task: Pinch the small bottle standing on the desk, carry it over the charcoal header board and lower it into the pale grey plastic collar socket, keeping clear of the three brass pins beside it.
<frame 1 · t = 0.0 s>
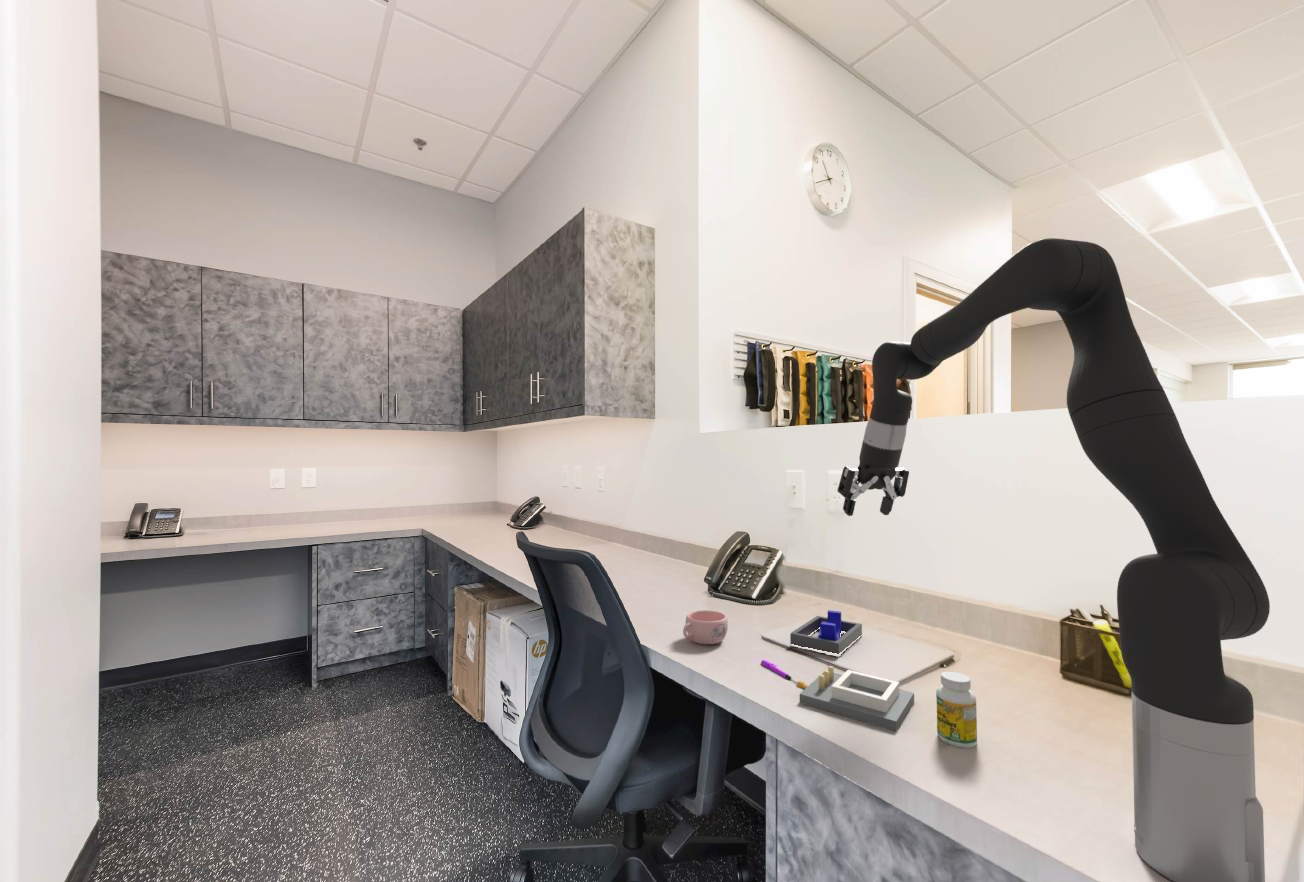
hand: (866, 513, 113), 31 cm above the countertop, tool tilted 20°, fingers open, 8 cm apart
purple handled brush: (789, 680, 106), on the countertop
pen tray: (827, 641, 126), on the countertop
supplement bottle: (956, 740, 83), on the countertop
mug: (703, 642, 126), on the countertop
header board: (857, 701, 95), on the countertop
cable clip: (828, 643, 126), resting in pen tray
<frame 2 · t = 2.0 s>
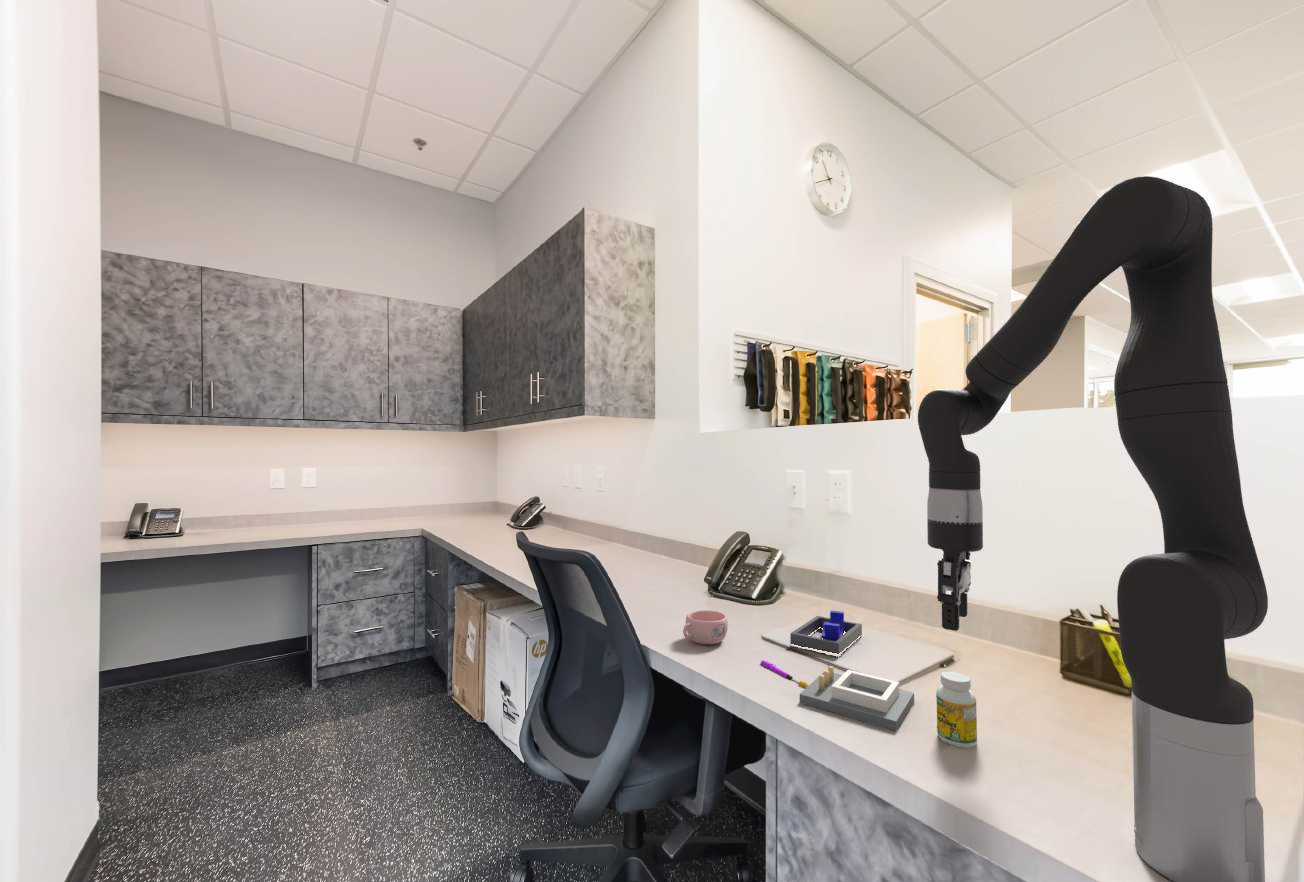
hand: (955, 622, 83), 18 cm above the countertop, tool pointing down, fingers open, 8 cm apart
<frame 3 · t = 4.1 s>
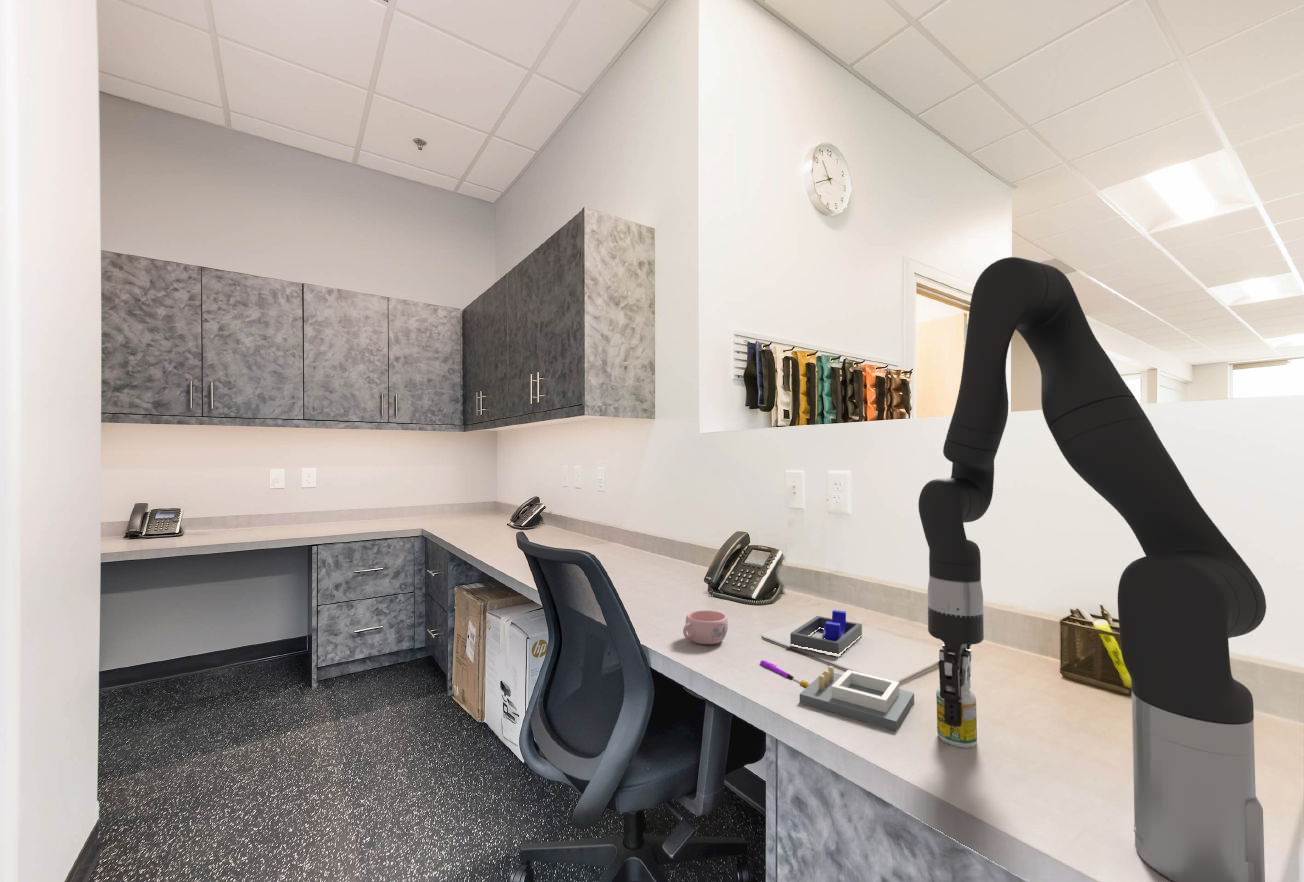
hand: (956, 716, 83), 3 cm above the countertop, tool pointing down, fingers closed on supplement bottle, 5 cm apart
supplement bottle: (956, 740, 83), on the countertop, touching gripper
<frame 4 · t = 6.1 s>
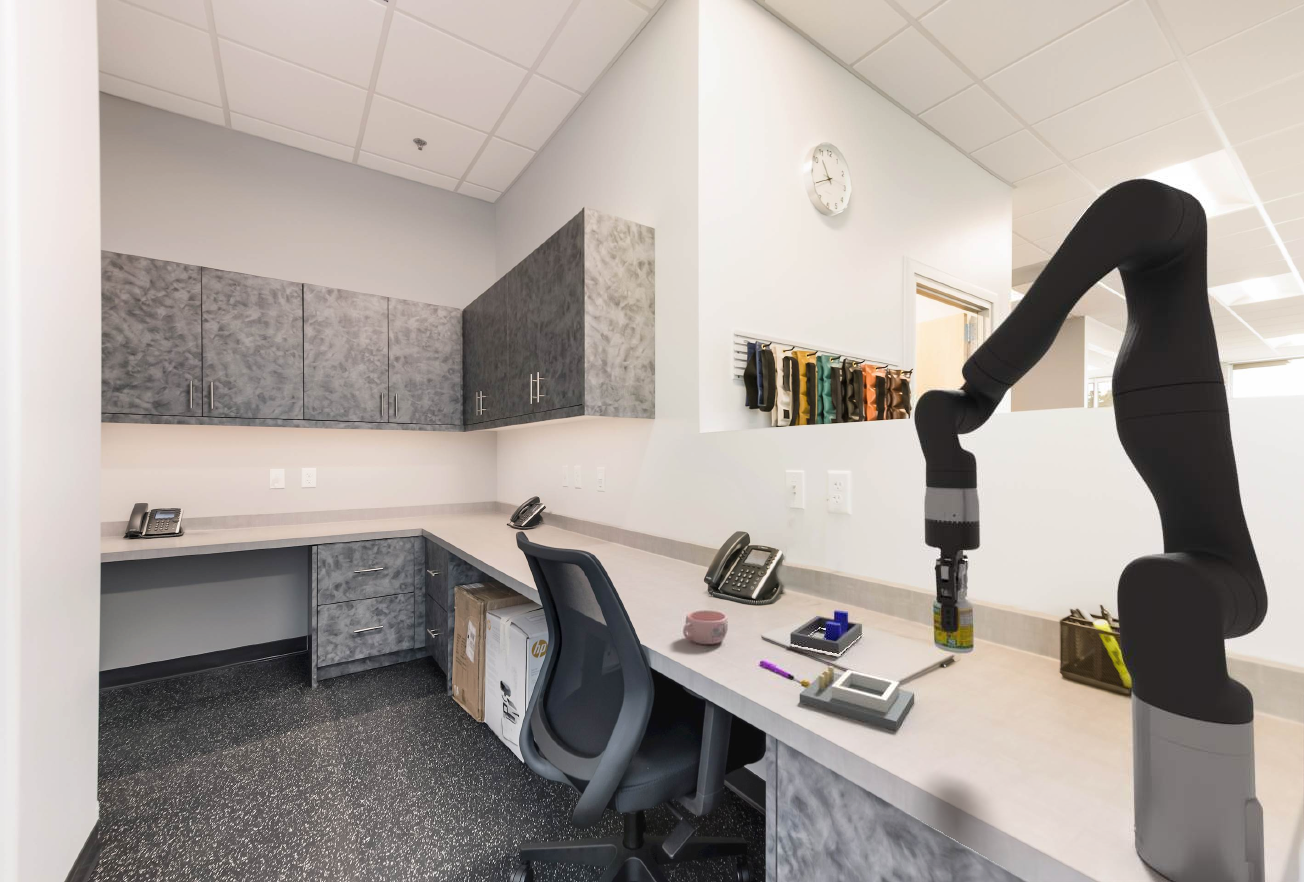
hand: (953, 625, 83), 17 cm above the countertop, tool pointing down, fingers closed on supplement bottle, 5 cm apart
supplement bottle: (953, 649, 83), point 14 cm above the countertop, touching gripper
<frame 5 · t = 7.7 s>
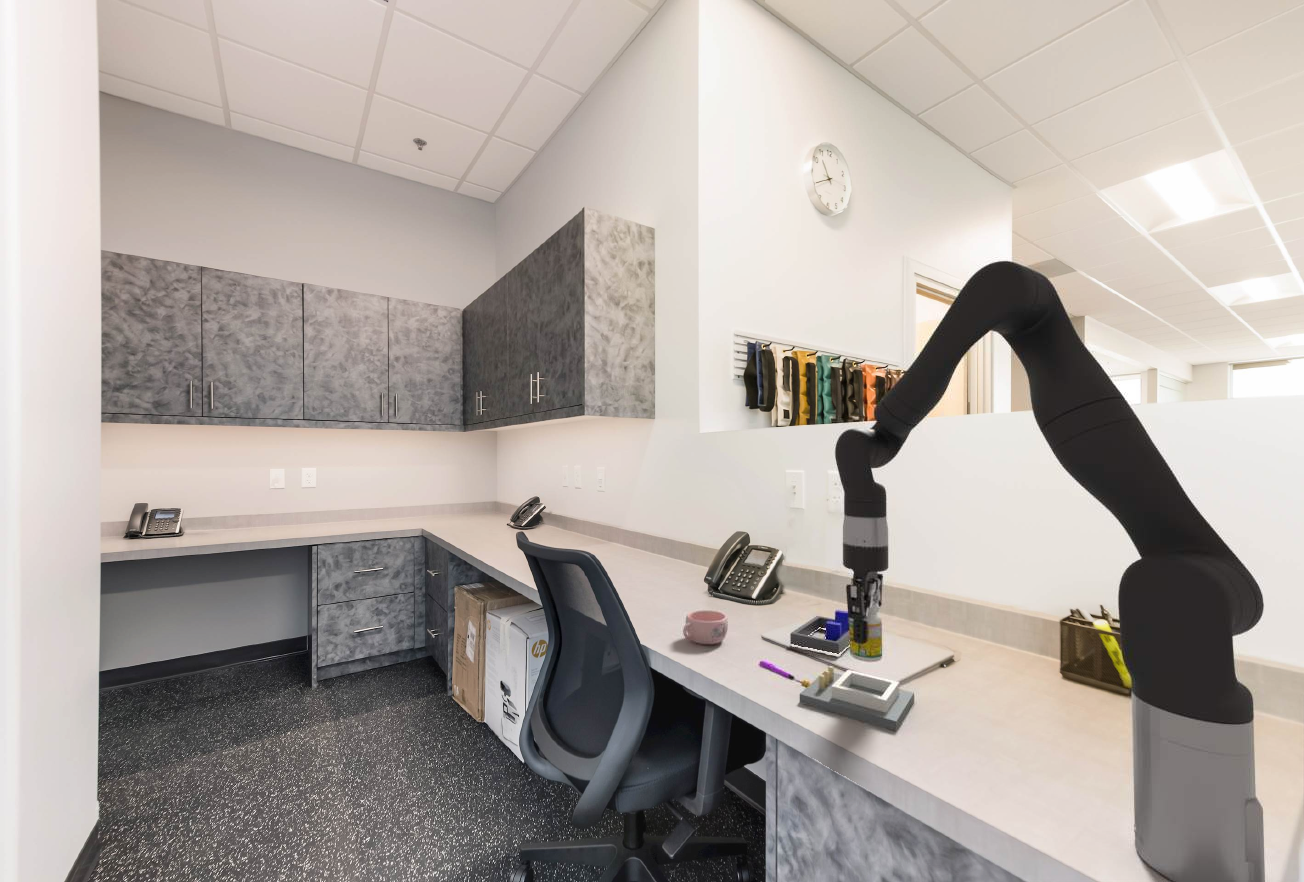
hand: (865, 637, 95), 12 cm above the countertop, tool pointing down, fingers closed on supplement bottle, 5 cm apart
supplement bottle: (865, 657, 94), point 8 cm above the countertop, touching gripper
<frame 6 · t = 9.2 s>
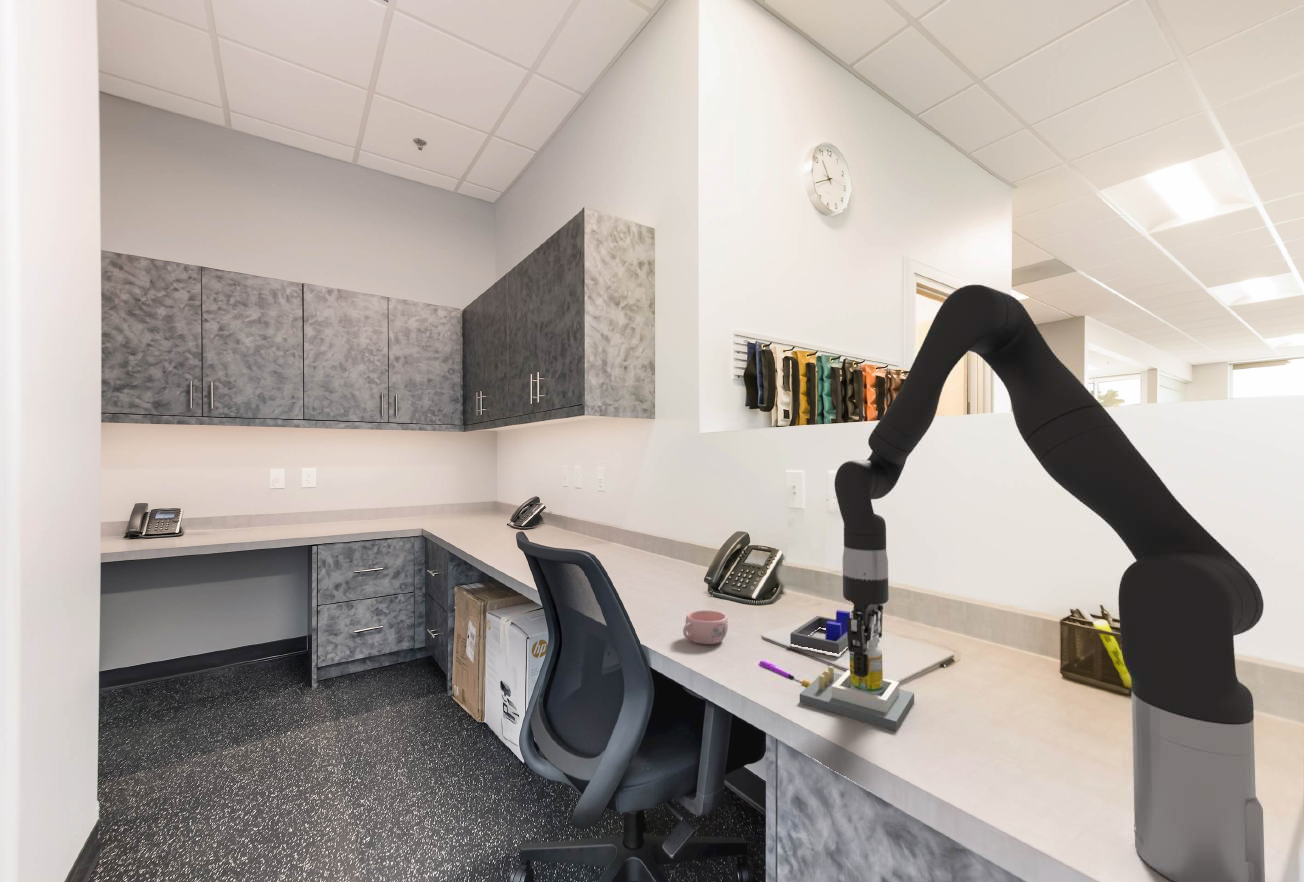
hand: (866, 669, 94), 6 cm above the countertop, tool pointing down, fingers closed on supplement bottle, 5 cm apart
supplement bottle: (866, 690, 94), point 2 cm above the countertop, touching gripper
when the fingers open (6 cm above the countertop, at t = 9.4 s): supplement bottle drops 1 cm, resting on header board.
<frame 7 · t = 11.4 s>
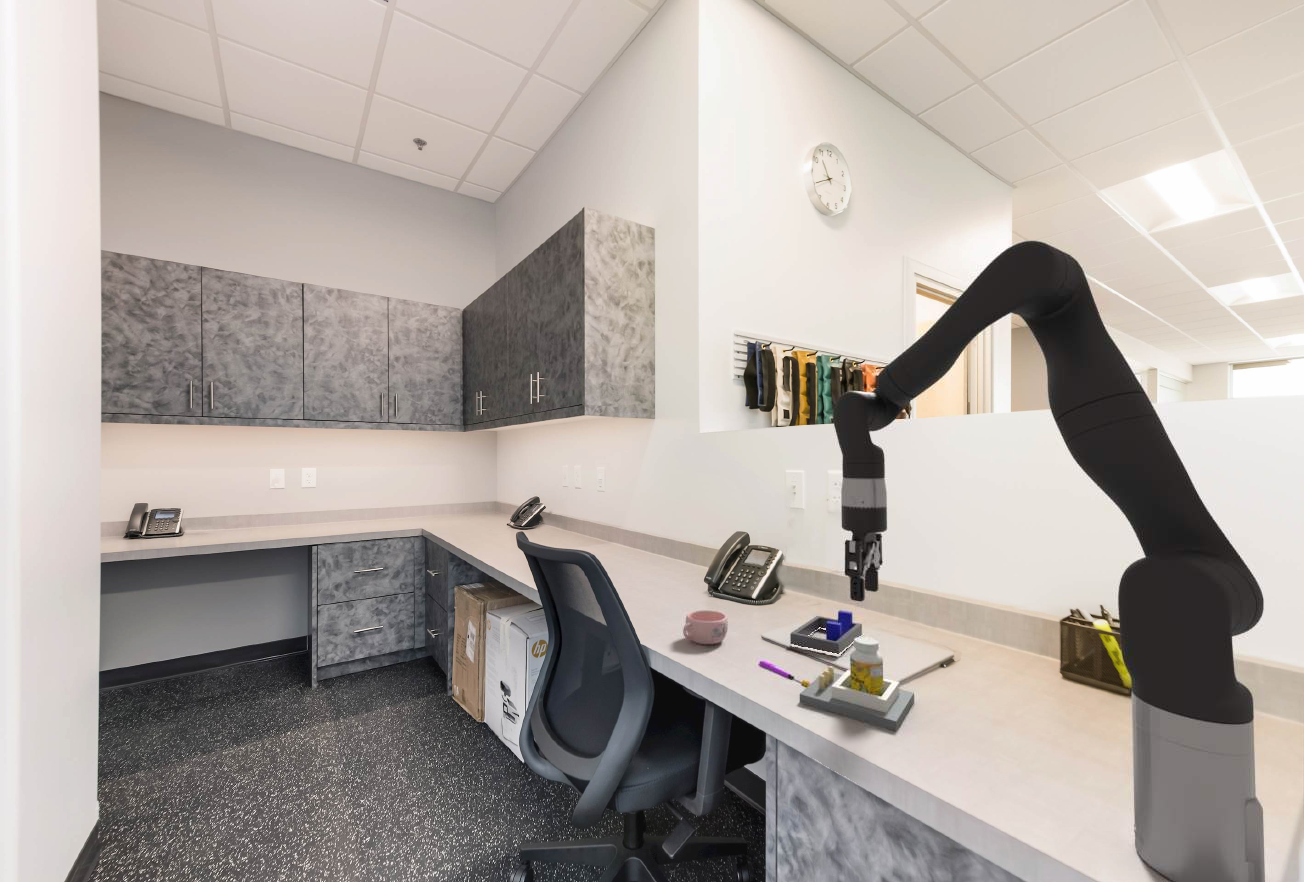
hand: (864, 595, 95), 19 cm above the countertop, tool pointing down, fingers open, 8 cm apart
supplement bottle: (866, 696, 94), point 1 cm above the countertop, touching header board
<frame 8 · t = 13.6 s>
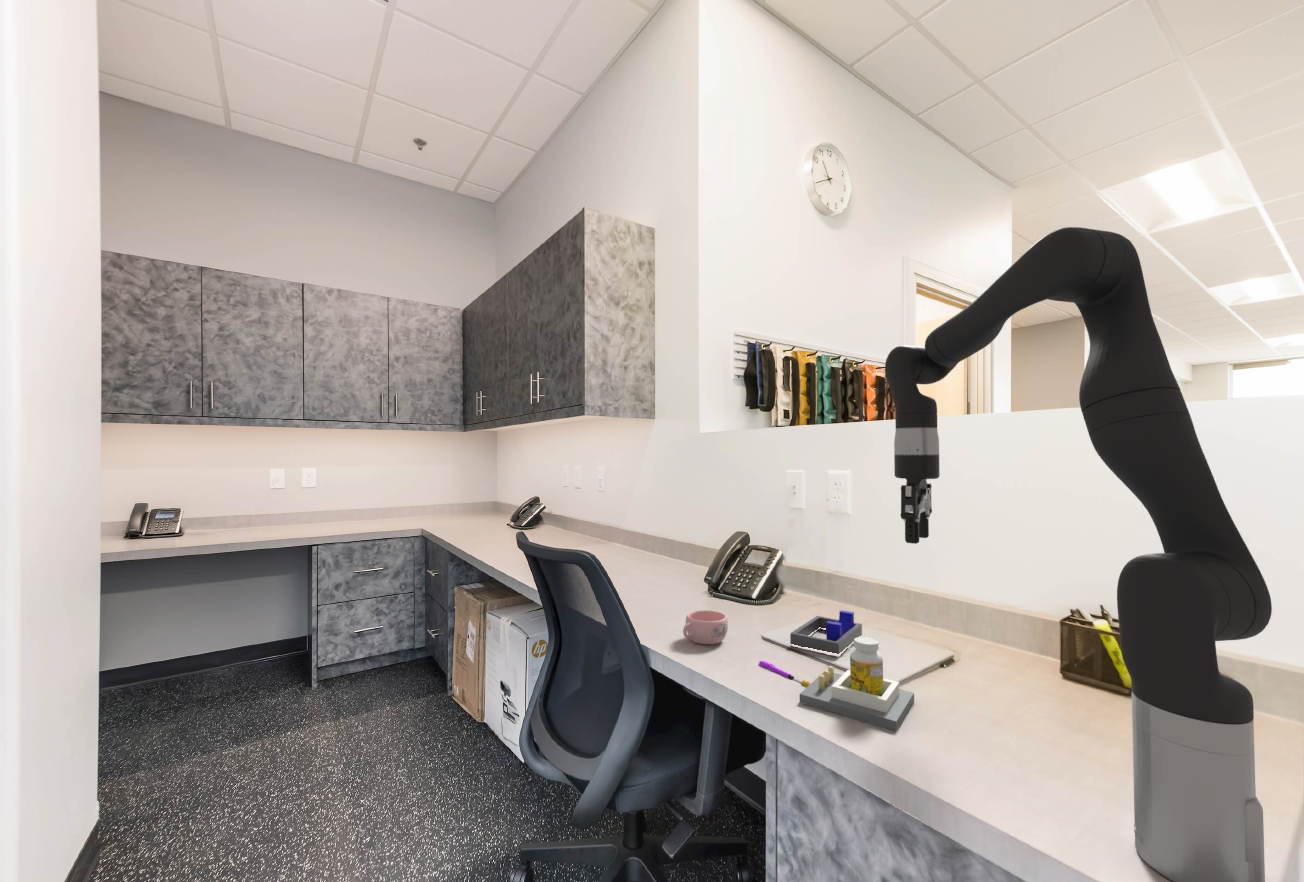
hand: (917, 540, 99), 28 cm above the countertop, tool pointing down, fingers open, 8 cm apart
at the end: supplement bottle 0.1 cm from the target spot on the header board, point 1.3 cm above the header board's base; supplement bottle tilted 0°; the gripper is holding nothing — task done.
